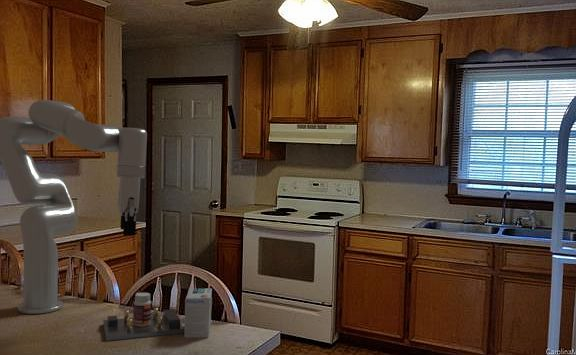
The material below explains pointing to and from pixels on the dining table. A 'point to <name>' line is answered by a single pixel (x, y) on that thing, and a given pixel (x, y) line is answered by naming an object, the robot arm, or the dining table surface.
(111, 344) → the dining table surface
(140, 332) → the chassis
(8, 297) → the dining table surface
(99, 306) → the dining table surface
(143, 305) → the pill bottle
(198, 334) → the light bulb box
